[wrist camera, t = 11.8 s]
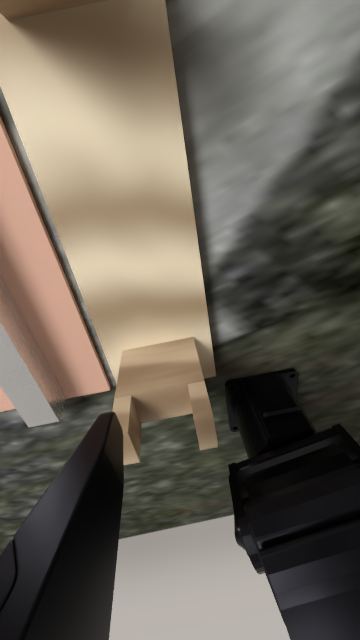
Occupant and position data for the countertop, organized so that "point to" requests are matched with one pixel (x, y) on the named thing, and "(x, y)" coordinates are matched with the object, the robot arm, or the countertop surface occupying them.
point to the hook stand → (117, 192)
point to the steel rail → (26, 367)
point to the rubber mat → (42, 285)
